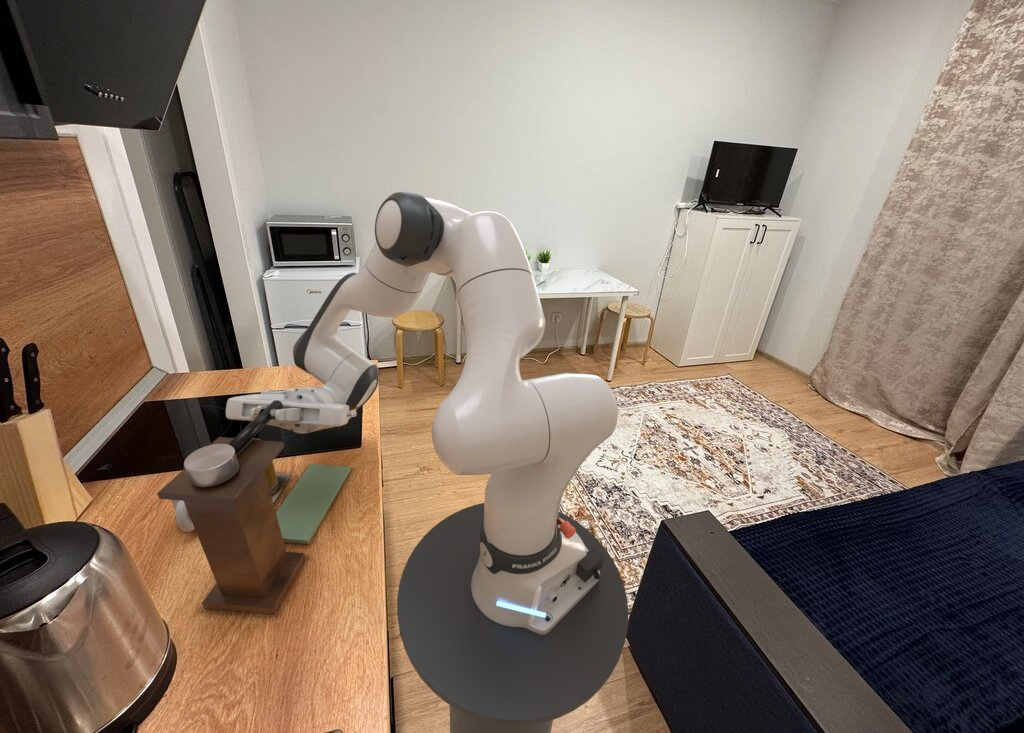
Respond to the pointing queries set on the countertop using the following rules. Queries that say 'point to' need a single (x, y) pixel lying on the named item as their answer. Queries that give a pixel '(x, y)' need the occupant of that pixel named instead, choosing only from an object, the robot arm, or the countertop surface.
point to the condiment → (274, 479)
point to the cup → (182, 516)
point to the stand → (240, 533)
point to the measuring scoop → (224, 454)
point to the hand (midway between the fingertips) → (264, 414)
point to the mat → (309, 502)
